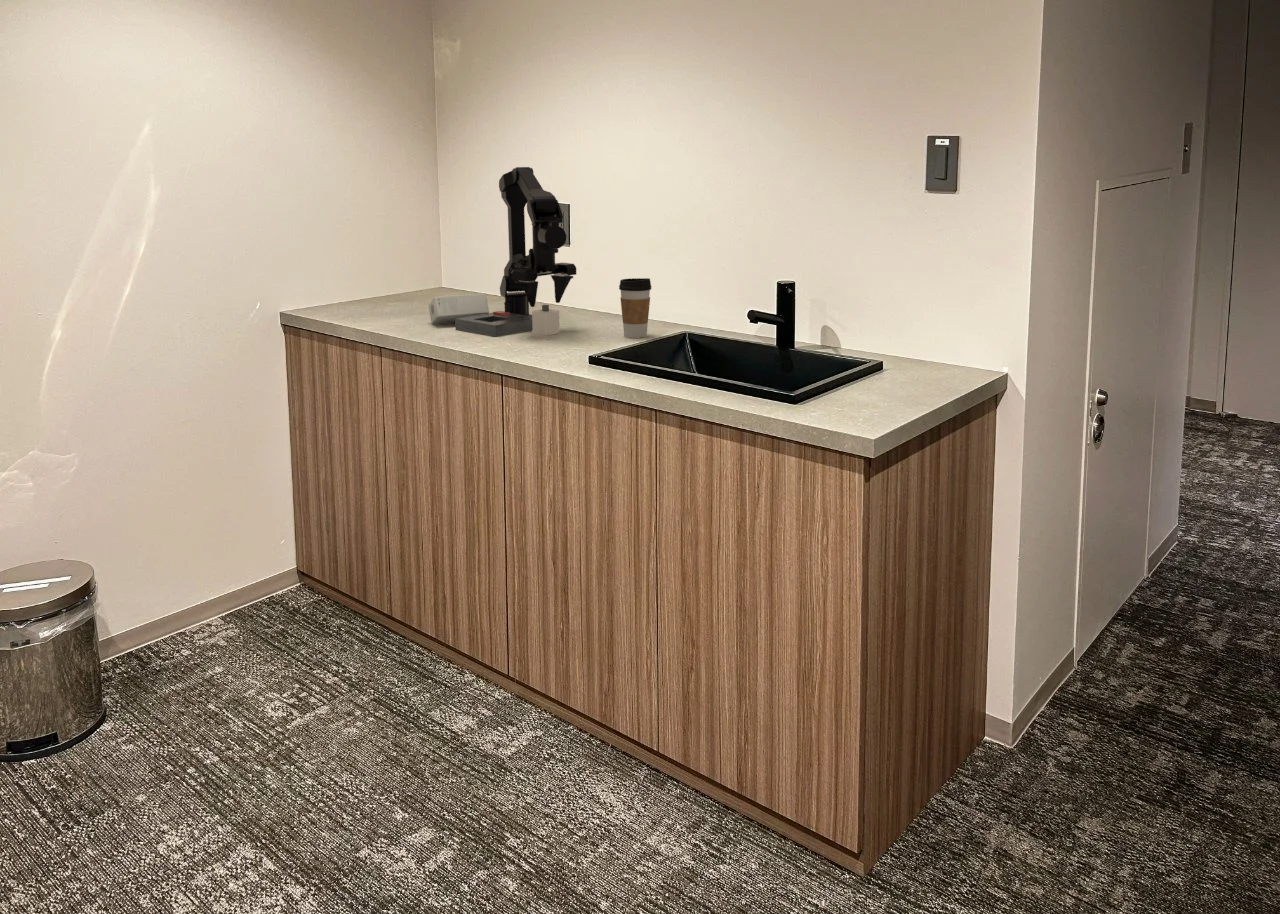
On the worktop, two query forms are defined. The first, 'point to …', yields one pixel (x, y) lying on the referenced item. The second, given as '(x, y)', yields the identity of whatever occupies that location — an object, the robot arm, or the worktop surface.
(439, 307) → the skincare box
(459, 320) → the socket plate
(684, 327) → the worktop surface
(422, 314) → the worktop surface
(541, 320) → the plug
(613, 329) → the worktop surface
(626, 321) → the coffee cup
